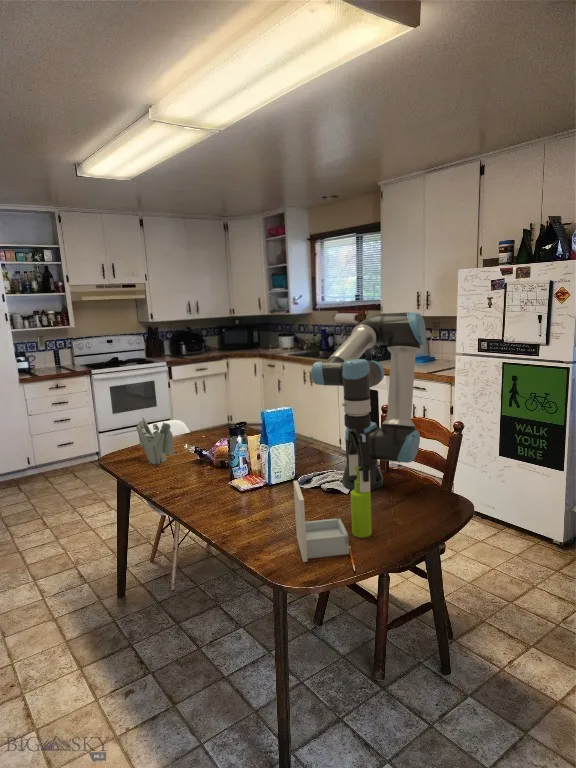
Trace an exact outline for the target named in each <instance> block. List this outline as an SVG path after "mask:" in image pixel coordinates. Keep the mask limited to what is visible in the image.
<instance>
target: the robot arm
mask: <svg viewBox="0 0 576 768" xmlns="http://www.w3.org/2000/svg"><path fill="white" fill-rule="evenodd" d="M425 323H426V322H425V320H424V317H423V315H422V314H421V313H419V312H409V311H407V312H406V311H405V312H390V313H377V314H373V315H372V316H369V317H367V318H366V319H363V320H362V321H361V322H359V323H358V324H357V325H355V327H354V328H352V331H351V335H349V337H348V338H347V339H345V341H344V342H343V343H342V344H341V345H340V346H339V347H338V348H337V349H336V351H334V352H333V354H331V355H330V356H329V357H328V359H326V360H325V361H323V360H321V361H315V362H314V363H313V364H312V366H311V369H310V375H311V376H310V377H311V380H312V383H313V384H315V385H319V386H329V387H330V386H331V387H332V386H334V387H335V386H336V387H337V386H338V387H343V388H342V389H343V402H342V407H343V408H344V411H343V412H344V413H345V414H344V415H343V416H344V418H343V419H344V420H343V421H344V427H346V428H345V435H344V436H345V437H344V440H345V441H344V442H345V456H346V457H345V458H346V462H345V463H346V465H345V468H344V471H343V475H342V486H343V487H345V488H346V489H348V490H351V491H352V490H353V489H355V485H354V481H355V480H356V479H357V472H356V470H355V468H354V467H361V468H359V471H360V492H371V491H373V490H377V489H380V488H381V487H383V484H384V477H383V474H382V472H381V469H380V467H379V463H378V460H379V461H388V462H394V463H396V462H397V464H398V463H407V464H409V463H411V462H414V461H415V458H416V456H417V454H418V452H419V449H420V443H421V437H420V436H421V433H420V431H418V430H416V424H414V422H413V421H412V415H413V401H414V400H413V396H414V381H415V369H416V368H415V365H416V354H418V353H419V352H420V351H421V346H423V345H425V344H426V341H427V330H426V324H425ZM378 345H379V346H380V345H384V346H387V347H386V348H387V350H388V351H389V353H390V365H389V366H390V369H389V385H388V396H387V397H388V399H387V414H386V419H385V420H384V421H383V422H382V424H381V427H378V425H377V423H376V422H373V421H372V420H371V413H370V412H371V411H372V410H371V390H370V389H371V388H372V387H375V386H377V385H378V384H380V382H382V381H383V379H384V377H385V369H384V366H383V365H382V364H381V363H380V362H378V361H376V360H367V359H362V358H361V357H362V355H363V354H364V353H365V352H366V350H369V349H371V348H373V347H374V346H378Z"/></svg>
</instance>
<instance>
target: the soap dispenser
mask: <svg viewBox="0 0 576 768" xmlns="http://www.w3.org/2000/svg"><path fill="white" fill-rule="evenodd" d="M354 468H355V470H356V472H357V479H356V480H355V481H354V485H355V489H353V490H351V491H350V508H351V509H350V512H351V513H350V514H351V533H352V535H353V536H354V537H357V538H360V539H361V538H362V539H364V538H369V537H370V536H371V535H373V534H372V533H373V531H372V530H373V528H372V527H373V526H372V506H371V505H372V499H371V497H372V496H371V495H372V494H371V491H370V492H360V471H359V468H361V467H354Z"/></svg>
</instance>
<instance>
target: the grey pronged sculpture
mask: <svg viewBox="0 0 576 768" xmlns="http://www.w3.org/2000/svg"><path fill="white" fill-rule="evenodd" d="M135 428H136V431H137V434H138V439H139V446H140V447H142V448H143V450H144V454H145V456H146V458H147V462H149V463H150V464H152V465H160V464H163V462H166V461H167V455H170V456H173V457H174V456H175V447H174V439H173V432H172V431H171V424H170V423H168V422H166V423H165V421H163V422H162V424H161V427H159V425H158V424H157V423H154V424H152V429H153V430H154V431H153V432H152V431H151V428H150V426H149V424H148V422H147V420H146V419H145V418H144V417H142V420H141V421H139V423H138V424H137V425H136V427H135Z"/></svg>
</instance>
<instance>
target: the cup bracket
mask: <svg viewBox="0 0 576 768" xmlns="http://www.w3.org/2000/svg"><path fill="white" fill-rule="evenodd" d="M292 484H293V495H294V496H293V497H294V511H295V527H296V528H295V529H296V530H295V531H296V539H297V543H298V548H299V551H300V555H301V558H302V562H303V563H306V562H308V559H314V558H315V559H316V558H324V557H333V556H343V555H349V554H350V541H349V539H350V538H349V534H348V531H347V530H346V528H345V525H344V523H343V521H342V519H341V518H340V517H337V518H328V519H327V518H326V519H319V520H311V521H310V520H309V521H306V515H305V514H306V513H305V510H306V509H305V498H304V496H303V494H302V490H301V487H300V484H299V482H298V480H293V483H292Z"/></svg>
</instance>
